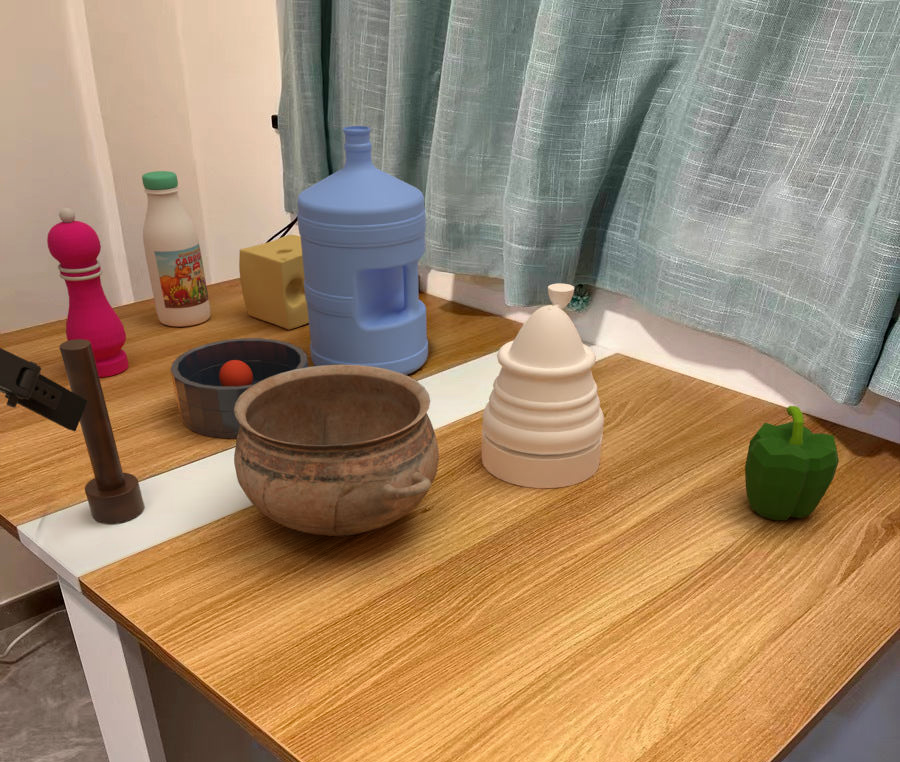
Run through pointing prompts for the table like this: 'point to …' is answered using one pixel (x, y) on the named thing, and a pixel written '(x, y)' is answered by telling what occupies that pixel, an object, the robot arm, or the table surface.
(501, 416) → the honey pot
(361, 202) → the water jug
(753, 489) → the bell pepper
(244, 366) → the ball
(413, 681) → the table surface
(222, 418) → the bowl
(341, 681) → the table surface
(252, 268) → the cheese
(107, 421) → the wooden peg on base
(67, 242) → the pepper mill
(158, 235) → the milk bottle
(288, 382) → the cooking pot
